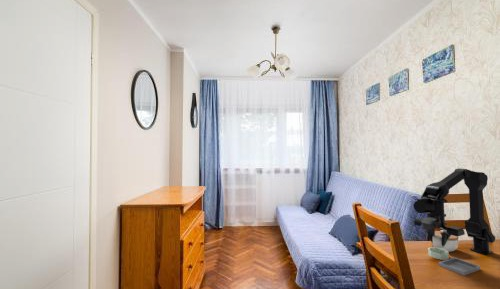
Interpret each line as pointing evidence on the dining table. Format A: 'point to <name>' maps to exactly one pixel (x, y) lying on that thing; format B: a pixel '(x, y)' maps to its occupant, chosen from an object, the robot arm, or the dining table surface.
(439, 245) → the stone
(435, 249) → the bowl
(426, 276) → the dining table surface
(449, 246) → the lidded jar
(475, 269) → the parts tray
